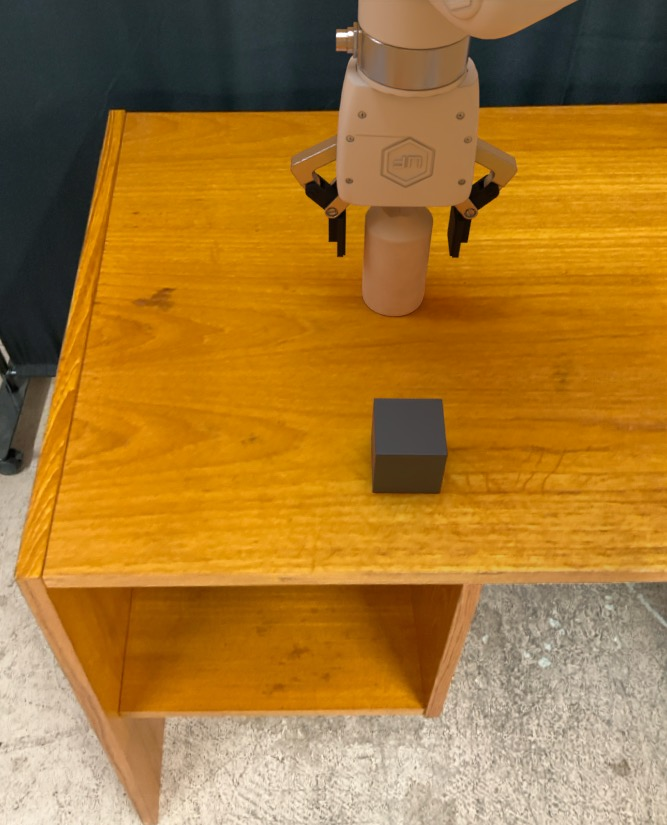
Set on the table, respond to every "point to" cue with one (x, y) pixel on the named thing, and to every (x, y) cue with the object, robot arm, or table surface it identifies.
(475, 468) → the table surface
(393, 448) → the near block
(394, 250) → the candle
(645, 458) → the table surface
